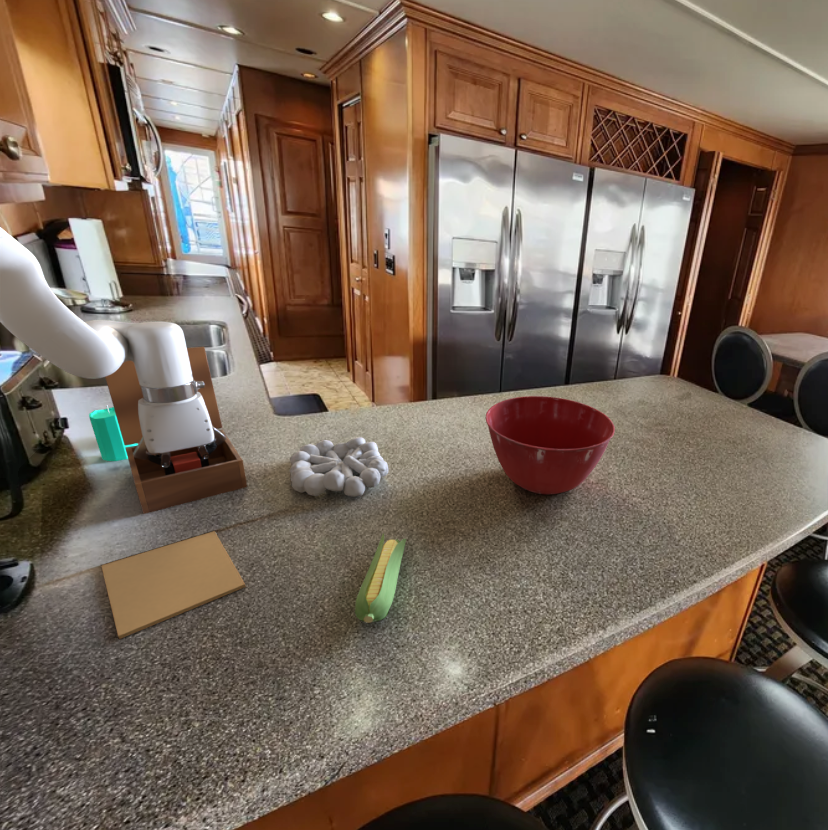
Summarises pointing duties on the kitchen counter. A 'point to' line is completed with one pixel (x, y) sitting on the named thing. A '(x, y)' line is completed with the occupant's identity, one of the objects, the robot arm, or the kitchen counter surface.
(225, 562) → the mat
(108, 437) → the candle
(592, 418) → the mixing bowl
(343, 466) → the campfire
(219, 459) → the open wooden box
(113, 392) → the lid
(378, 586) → the edible corn
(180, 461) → the block
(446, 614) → the kitchen counter surface
